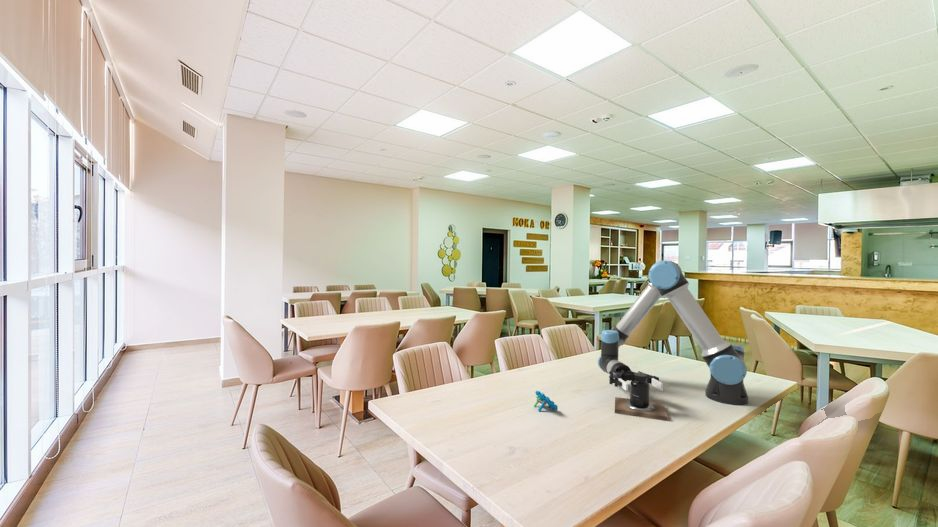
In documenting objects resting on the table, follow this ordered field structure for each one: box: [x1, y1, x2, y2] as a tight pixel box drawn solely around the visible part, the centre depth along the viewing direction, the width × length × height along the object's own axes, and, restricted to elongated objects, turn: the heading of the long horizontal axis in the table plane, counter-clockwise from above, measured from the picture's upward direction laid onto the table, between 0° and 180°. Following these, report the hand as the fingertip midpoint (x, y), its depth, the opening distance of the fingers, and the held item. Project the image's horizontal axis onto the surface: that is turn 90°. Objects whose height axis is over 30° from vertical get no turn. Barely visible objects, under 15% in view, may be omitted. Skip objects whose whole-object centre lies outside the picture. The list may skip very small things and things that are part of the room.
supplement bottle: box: [629, 372, 651, 408], centre depth 149 cm, size 7×7×12 cm
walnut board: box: [614, 396, 669, 422], centre depth 149 cm, size 18×14×2 cm
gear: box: [533, 390, 559, 412], centre depth 148 cm, size 11×6×10 cm
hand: (644, 387), depth 145 cm, fingers open, 13 cm apart
